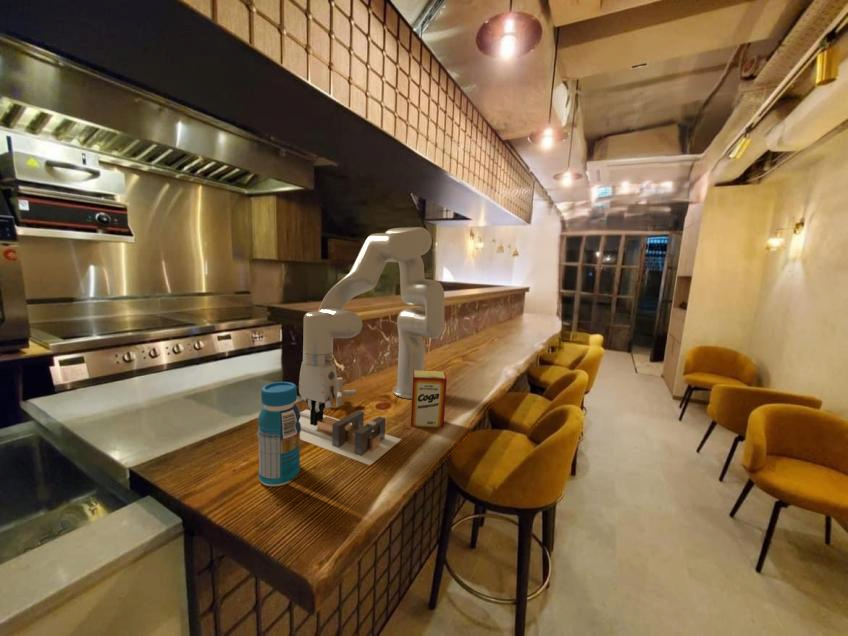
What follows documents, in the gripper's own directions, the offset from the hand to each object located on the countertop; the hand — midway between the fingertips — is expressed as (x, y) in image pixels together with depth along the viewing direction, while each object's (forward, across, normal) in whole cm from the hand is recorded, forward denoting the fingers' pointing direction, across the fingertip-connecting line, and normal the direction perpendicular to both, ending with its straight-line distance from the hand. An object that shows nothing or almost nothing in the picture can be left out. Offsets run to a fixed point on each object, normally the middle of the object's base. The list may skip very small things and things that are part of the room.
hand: (316, 423), depth 91 cm
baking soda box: (+2, -24, -20) cm, 31 cm away
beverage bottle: (+3, -8, +19) cm, 20 cm away
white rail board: (+2, -6, 0) cm, 6 cm away
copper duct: (+1, -11, 0) cm, 11 cm away
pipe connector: (+3, +5, -15) cm, 16 cm away
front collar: (+1, -18, 0) cm, 18 cm away
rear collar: (+1, -11, 0) cm, 11 cm away
